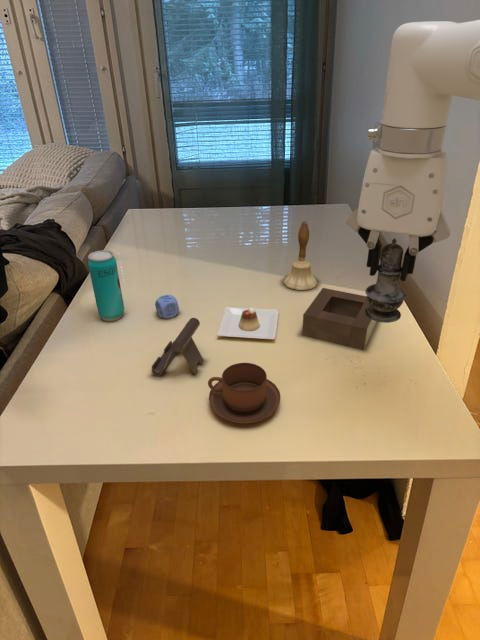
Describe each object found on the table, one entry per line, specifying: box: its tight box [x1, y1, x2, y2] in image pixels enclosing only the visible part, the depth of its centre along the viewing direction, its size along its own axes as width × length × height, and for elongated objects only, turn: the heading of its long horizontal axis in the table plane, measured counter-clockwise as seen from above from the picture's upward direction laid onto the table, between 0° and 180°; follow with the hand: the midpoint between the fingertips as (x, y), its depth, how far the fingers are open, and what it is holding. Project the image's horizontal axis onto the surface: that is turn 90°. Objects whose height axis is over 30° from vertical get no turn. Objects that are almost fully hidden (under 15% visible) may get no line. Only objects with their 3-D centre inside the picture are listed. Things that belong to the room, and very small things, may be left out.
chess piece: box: [365, 238, 408, 324], centre depth 67 cm, size 6×6×12 cm
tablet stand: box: [151, 317, 205, 377], centre depth 87 cm, size 9×8×8 cm
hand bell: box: [283, 220, 318, 291], centre depth 114 cm, size 8×8×16 cm
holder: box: [301, 287, 378, 350], centre depth 98 cm, size 13×13×5 cm
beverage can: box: [87, 249, 125, 322], centre depth 101 cm, size 6×6×15 cm
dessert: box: [216, 306, 280, 340], centre depth 99 cm, size 12×12×5 cm
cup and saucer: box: [207, 362, 281, 424], centre depth 78 cm, size 12×12×6 cm
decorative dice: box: [154, 294, 180, 320], centre depth 105 cm, size 4×4×4 cm
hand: (389, 273), depth 67 cm, fingers closed on chess piece, 3 cm apart
